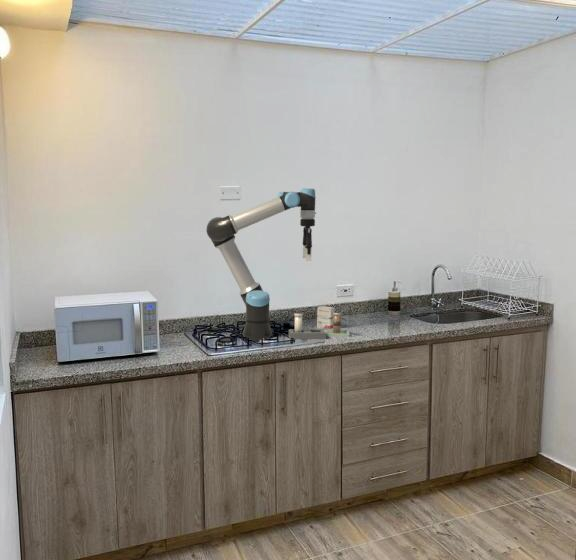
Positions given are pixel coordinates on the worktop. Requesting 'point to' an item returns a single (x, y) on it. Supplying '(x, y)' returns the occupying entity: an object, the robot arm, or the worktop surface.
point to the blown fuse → (337, 322)
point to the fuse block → (307, 334)
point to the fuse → (298, 322)
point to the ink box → (325, 317)
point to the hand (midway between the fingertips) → (306, 259)
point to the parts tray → (343, 334)
